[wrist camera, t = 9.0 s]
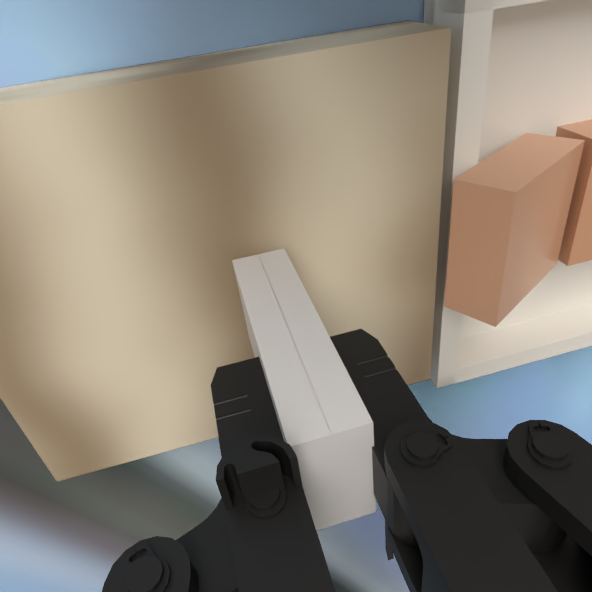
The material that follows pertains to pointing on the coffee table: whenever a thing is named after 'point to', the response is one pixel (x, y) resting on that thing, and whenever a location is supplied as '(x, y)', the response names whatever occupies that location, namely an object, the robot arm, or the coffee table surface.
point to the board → (209, 226)
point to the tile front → (509, 224)
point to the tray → (494, 136)
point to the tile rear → (579, 199)
